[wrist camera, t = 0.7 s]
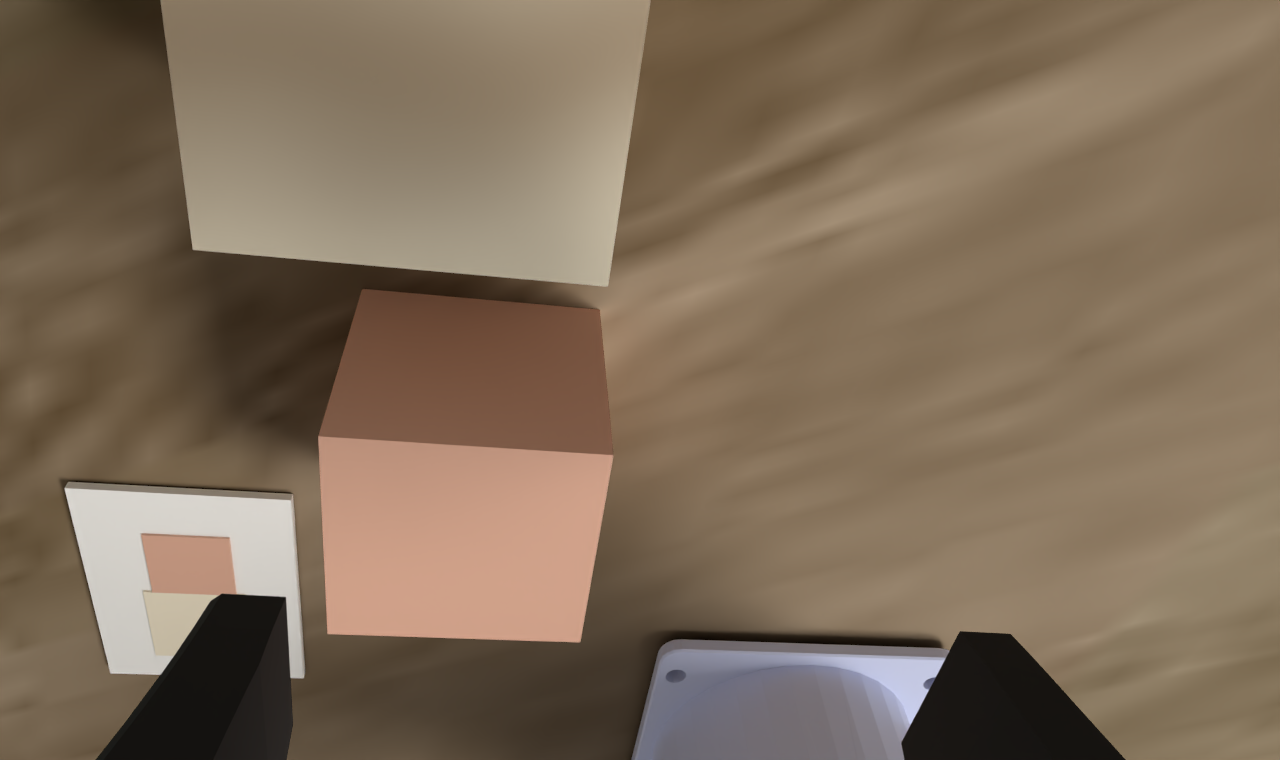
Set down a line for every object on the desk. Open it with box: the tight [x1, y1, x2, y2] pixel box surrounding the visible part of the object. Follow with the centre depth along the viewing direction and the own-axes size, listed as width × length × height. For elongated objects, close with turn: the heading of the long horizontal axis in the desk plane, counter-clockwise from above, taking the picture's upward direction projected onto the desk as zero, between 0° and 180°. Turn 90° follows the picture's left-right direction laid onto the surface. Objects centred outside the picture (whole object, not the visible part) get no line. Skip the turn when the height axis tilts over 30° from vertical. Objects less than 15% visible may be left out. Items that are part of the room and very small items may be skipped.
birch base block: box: [160, 0, 651, 287], centre depth 13 cm, size 6×6×4 cm
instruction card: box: [64, 482, 305, 678], centre depth 22 cm, size 6×4×1 cm
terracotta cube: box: [318, 289, 613, 642], centre depth 18 cm, size 4×4×4 cm
